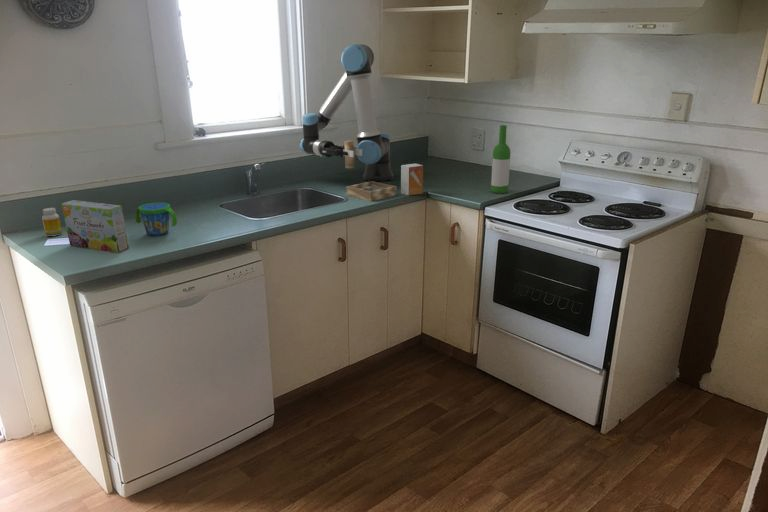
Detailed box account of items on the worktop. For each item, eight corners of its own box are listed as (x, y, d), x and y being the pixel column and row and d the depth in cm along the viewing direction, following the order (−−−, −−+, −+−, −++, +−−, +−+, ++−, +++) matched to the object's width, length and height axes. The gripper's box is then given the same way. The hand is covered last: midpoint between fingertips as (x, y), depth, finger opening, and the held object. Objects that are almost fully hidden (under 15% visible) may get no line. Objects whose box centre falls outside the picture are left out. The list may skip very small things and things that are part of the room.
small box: (408, 196, 264) (408, 167, 260) (400, 193, 269) (400, 165, 265) (423, 193, 268) (423, 165, 264) (414, 191, 274) (415, 163, 269)
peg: (350, 166, 275) (349, 140, 271) (356, 167, 272) (356, 141, 268) (343, 167, 272) (342, 141, 268) (349, 168, 269) (348, 142, 265)
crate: (371, 189, 277) (371, 181, 276) (396, 195, 266) (396, 186, 265) (346, 195, 266) (346, 186, 265) (370, 201, 256) (370, 192, 254)
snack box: (68, 246, 199) (59, 203, 194) (81, 241, 204) (73, 199, 199) (117, 253, 192) (110, 208, 187) (130, 248, 197) (123, 204, 192)
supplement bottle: (43, 235, 211) (38, 209, 208) (59, 232, 215) (54, 206, 212) (48, 238, 208) (43, 211, 204) (64, 235, 211) (59, 209, 208)
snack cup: (185, 231, 214) (182, 204, 211) (165, 239, 205) (161, 211, 202) (151, 227, 220) (147, 200, 216) (130, 235, 211) (125, 207, 207)
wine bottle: (511, 192, 269) (515, 126, 259) (496, 194, 266) (500, 126, 256) (501, 189, 276) (505, 124, 266) (487, 190, 273) (491, 125, 263)
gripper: (338, 153, 289) (371, 159, 273) (310, 158, 277) (343, 164, 262) (338, 138, 286) (371, 142, 271) (309, 142, 275) (342, 147, 259)
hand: (357, 153), depth 266 cm, fingers closed on peg, 4 cm apart
